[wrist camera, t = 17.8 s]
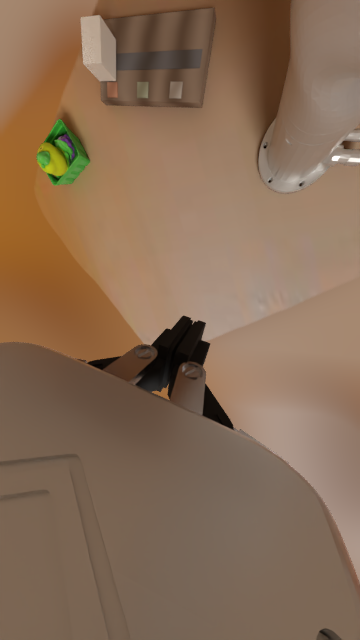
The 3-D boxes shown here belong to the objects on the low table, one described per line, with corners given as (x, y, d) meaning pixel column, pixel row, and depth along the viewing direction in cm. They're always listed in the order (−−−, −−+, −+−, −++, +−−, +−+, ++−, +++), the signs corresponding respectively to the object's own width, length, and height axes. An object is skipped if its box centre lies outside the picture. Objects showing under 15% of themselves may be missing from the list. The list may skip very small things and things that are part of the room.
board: (216, 18, 28) (214, 5, 26) (202, 107, 32) (199, 101, 31) (104, 28, 33) (97, 18, 31) (106, 105, 37) (100, 99, 36)
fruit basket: (79, 128, 41) (27, 95, 32) (98, 168, 43) (56, 148, 34) (55, 162, 46) (5, 142, 37) (74, 196, 49) (31, 185, 39)
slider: (115, 39, 31) (99, 15, 28) (116, 80, 34) (101, 63, 30) (98, 40, 32) (80, 17, 29) (99, 81, 35) (83, 63, 31)
